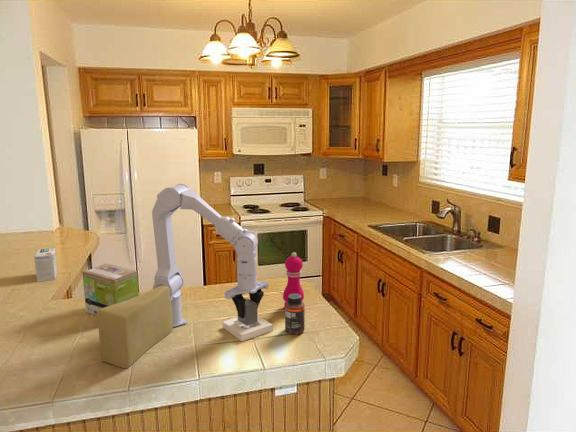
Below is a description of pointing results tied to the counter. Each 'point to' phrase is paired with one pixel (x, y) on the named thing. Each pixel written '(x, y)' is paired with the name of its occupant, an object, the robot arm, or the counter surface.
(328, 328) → the counter surface
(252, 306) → the plug
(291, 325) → the supplement bottle
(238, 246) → the robot arm
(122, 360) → the tan rectangular block
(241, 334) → the socket plate
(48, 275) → the light bulb box
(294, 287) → the pepper mill
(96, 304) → the tea box
